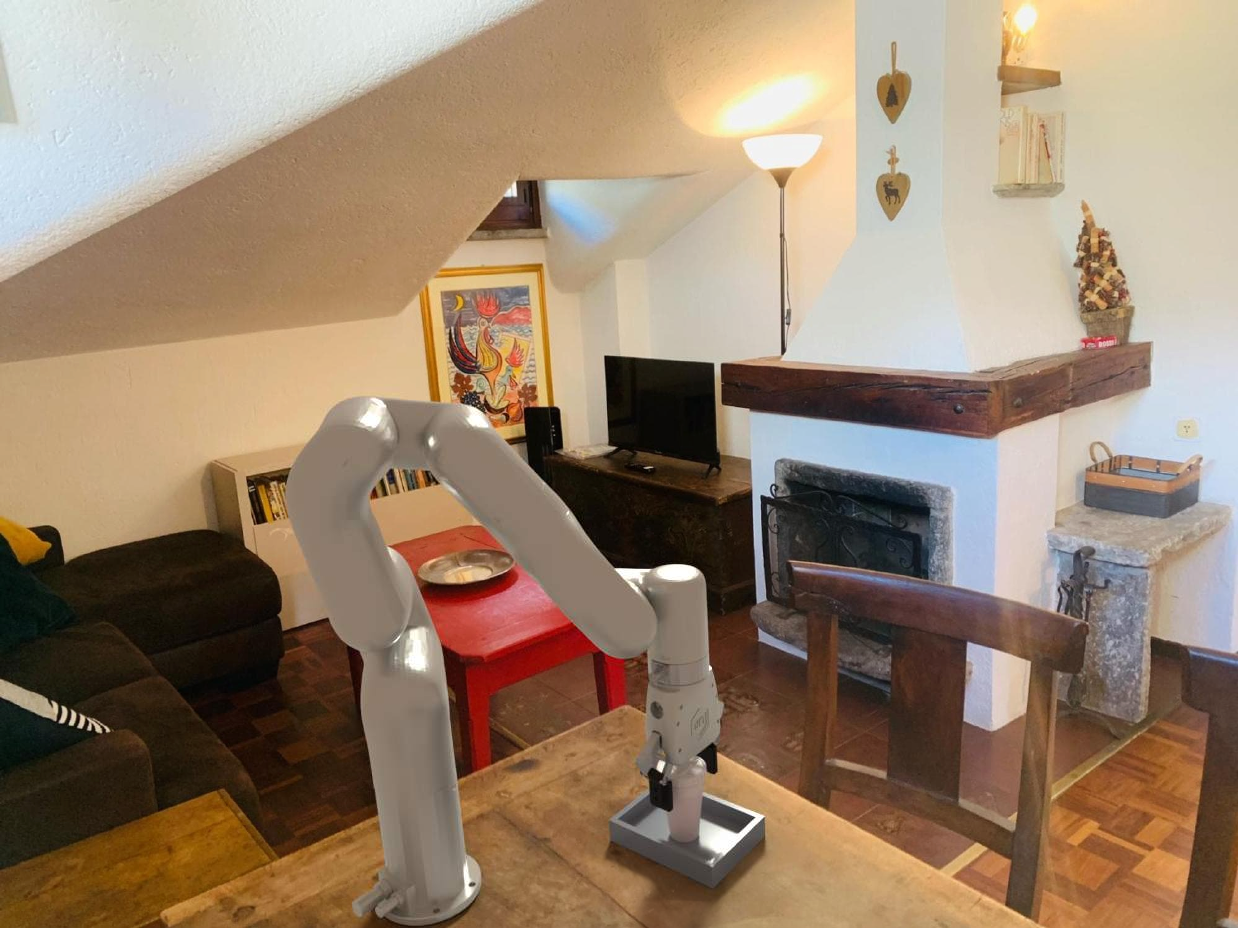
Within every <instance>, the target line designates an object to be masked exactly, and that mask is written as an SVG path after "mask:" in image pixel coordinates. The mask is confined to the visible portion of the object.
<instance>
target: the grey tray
mask: <svg viewBox="0 0 1238 928" xmlns="http://www.w3.org/2000/svg"><path fill="white" fill-rule="evenodd" d="M765 818H766V816H765V815H763V814H761V813H759V812H758V813H757V812H755V811H753V810H750V809H747V808H746V807H743V806H740V805H738V804H735V803H733V802H730V801H729V800H725V799H723V798H720V797H718V796H715V795H713V794H710V793H707V792H705V791H703V795H702V806H701V817H700V828H699V836H698V837H697V838H696V839H695V840H693V841H690V842H679V841H676V840H674V839H673V838H672V837H671V835H670V830H669V824H668V819H667V814H666V811H665V810H663V809H660V808H658V807H656V806H653V805H652V804H651V803H650V792H649V788H648V789H647V790H645V791H643V793H641V794H640V795H639V796H637V797H636V798H635V799H633V800H632V801H631V802H630V803H628V804H627V805H626V806H624V808H622V809H621V810H620V811H618V812H617V813H615V814H614V815H613V816H611V818H609V819H608V826H609V829H608V830H609V840H610V841H611V842H612V843H615V844H617V845H619V846H621V847H623V848H626V849H628V850H630V851H632V852H634V853H637V854H639V855H640V856H642V857H645V858H647V859H649V860H651V861H653V862H654V863H655V862H656V864H659V865H662V866H663V867H666V868H668V869H670V870H672V871H674V872H676V873H678V874H681V875H683V876H685V877H686V878H689V879H691V880H694V881H695V882H698V883H699V884H702V885H704V886H706V887H707V888H710V889H712V890H713V889H715V887H717V886H718V884H720V883H721V882H722V881H723V879H725V878H726V876H728V875H729V874H730V873H731V872H732V871H733V870H734V869H735V868H736V867H737V865H739V864H740V862H741V861H743V860H744V859H745V858H746V856H748V855H749V854H750V852H752V851H753V850H754V848H755V847H756V846H758V845H759V843H761V842H762V840H764V839H765V838H766V819H765Z"/></svg>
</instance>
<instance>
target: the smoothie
mask: <svg viewBox="0 0 1238 928" xmlns="http://www.w3.org/2000/svg"><path fill="white" fill-rule="evenodd" d="M664 765H665V762H664V761H661V760H659V762H658V765H657V767H656V770H658V771H660V772H661V773H662V770H663V768H664ZM707 774H708V772H707V770H706V763H705V762H704V760H703V759H701V758H700V757H698V756H694V757H693V758H692V759H690V760H689V761H688V762H686V763H685V764H683V765H682V766H679V767H676V766H673V768H672V771H671V774H670V777H669V781H671V782H672V791H673V810H672V811H670V812H667V811H666V814H667V819H668V824H669V830H670V835H671V837H672V838H673V839H674V840H676V841H679V842H690V841H693V840H695V839H696V838H697V837H698V836H699V828H700V817H701V806H702V795H703V792H704V782H705V779H706V777H707Z"/></svg>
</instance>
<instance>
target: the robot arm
mask: <svg viewBox="0 0 1238 928" xmlns="http://www.w3.org/2000/svg"><path fill="white" fill-rule="evenodd" d="M391 469H392V470H393V469H394V470H407V471H408V470H410V471H429V472H430V473H431V475H432V476H433V477H434V478H435V480H436V481H437V482H438V483H439V484H440V485H441V486H442V487H443V488H444V489H445V490H446V492H447V493H449V494H450V495H451V497H452V498H453V499H455V500H456V502H458V503H459V504H460V505H461V506H462V507H463V508H464V509H465V510H466V511H467V513H469V514H470V515H471V516H472V517H473V518H474V520H476V521H477V522H478V523H479V524H480V525H481V526H482V527H483V528H484V529H485V530H486V531H487V532H488V533H489V534H490V535H491V536H492V537H493V538H494V540H496V541H497V542H498V543H499V545H501V546H502V547H503V549H505V551H507V553H508V554H509V555H510V557H512V558H513V560H514V561H515V562H516V564H518V566H519V567H520V568H521V569H522V570H523V571H524V572H525V573H526V574H527V575H528V576H529V577H530V579H531V580H533V582H534V583H536V584H537V585H538V586H539V588H540V589H541V590H542V591H543V592H544V594H546V596H548V597H549V599H550V600H551V601H552V602H553V603H554V604H555V606H556V607H558V609H559V610H560V611H561V612H562V613H563V614H564V615H565V616H566V618H568V619H569V620H570V621H571V622H572V623H573V625H574V626H576V627H577V629H578V630H579V631H581V632H582V633H583V634H584V635H585V636H586V637H587V639H588V640H590V642H592V644H594V645H595V647H597V648H598V649H599V650H600V651H602V652H603V653H604V654H606V655H608V656H610V657H613V658H616V659H622V660H623V659H632V658H635V657H636V658H637V657H638V656H640V655H642V654H643V653H645V652H646V651H647V669H648V680H649V682H648V685H647V693H646V703H645V706H646V707H645V708H646V709H645V739H646V741H645V744H644V745H643V747H642V749H641V750H640V752H639V753H638V755H637V756H636V758H635V764H636V766H637V768H638V770H639V773H640V775H641V776H643V777H645V779H646V780H648V786H649V787H648V789H649V792H650V803H651V804H652V805H653V806H656V807H658V808H660V809H663V810H665V811H667V812H670V811H672V810H673V791H672V782H671V781H669V777H670V774H671V771H672V768H673V766H676V767H679V766H682V765H683V764H685V763H686V762H688V761H689V760H690V759H692V758H693V757H694V756H698V757H700V758H701V759H703V760H704V762H705V763H706V770H707V774H710V775H716V774H717V773H718V772H719V771H718V769H719V768H718V747H717V745H718V744H719V742H720V736H719V735H720V734H721V726H722V725H723V724H722V723H723V721H722V719H721V718H723V717H722V716H723V713H724V712H723V711H724V707H725V703H724V702H723V701H720V700H719V696H718V690H717V683H716V680H715V675H714V672H713V669H712V666H711V665H710V651H709V649H710V648H709V647H710V646H709V629H708V628H709V627H708V625H709V624H708V606H707V605H708V601H707V599H708V598H707V583H706V578H705V576H704V573H703V572H702V571H701V570H700V569H698V568H697V567H695V566H692V565H687V564H682V563H681V564H679V563H678V564H676V563H673V564H665V565H660V566H657V567H655V568H621V567H619V568H617V567H616V568H615V567H614V566H613V565H612V564H611V563H610V562H609V561H608V559H607V558H606V557H605V556H604V555H603V554H602V553H601V551H600V550H599V549H598V548H597V546H596V545H595V544H594V543H593V541H592V540H591V539H590V537H589V536H588V534H586V532H585V530H584V529H583V527H582V525H581V524H580V523H579V521H578V520H577V518H576V516H575V514H574V513H573V512H572V510H571V509H570V508H569V507H568V505H566V503H565V502H564V501H563V500H562V499H561V497H560V496H559V495H558V494H557V493H556V492H555V491H554V490H553V489H552V488H551V487H550V486H549V485H548V484H547V483H546V482H545V481H544V480H543V479H542V478H541V477H540V476H539V474H538V473H536V472H535V470H534V469H533V468H532V467H531V466H530V465H529V464H528V463H527V462H526V461H525V460H524V459H523V458H522V457H521V455H520V454H518V452H517V451H515V449H514V448H513V447H512V446H511V445H510V444H509V443H508V442H507V440H505V438H504V437H503V436H502V435H501V434H500V433H499V432H498V431H497V430H496V429H495V427H494V426H493V423H492V422H491V420H490V419H489V417H488V416H487V414H485V413H484V412H483V411H481V410H480V409H478V408H476V407H474V406H471V405H469V404H464V403H455V402H441V401H430V400H429V401H428V400H427V401H426V400H415V399H414V400H413V399H407V398H406V399H404V398H403V399H402V398H394V397H393V398H392V397H382V396H371V395H370V396H367V395H365V396H364V395H363V396H361V395H360V396H353V397H348V398H346V399H344V400H342V401H339V402H338V403H336V404H334V405H333V406H332V408H331V409H330V410H329V411H328V412H327V413H326V415H325V417H324V418H323V420H322V422H321V424H320V426H319V427H318V430H317V431H316V432H315V433H314V435H313V436H312V437H311V438H310V439H309V440H308V442H307V443H306V444H305V446H303V448H302V449H301V451H300V452H299V453H298V455H297V457H296V458H295V460H294V462H293V464H292V465H291V467H290V470H289V474H288V476H287V480H286V484H285V485H286V486H285V493H284V494H285V495H284V497H285V505H286V506H285V507H286V511H287V517H288V520H289V523H290V525H291V528H292V531H293V533H294V536H295V539H296V540H297V543H298V545H299V549H300V550H301V552H302V554H303V557H304V560H305V563H306V565H307V568H308V571H309V573H310V576H311V578H312V580H313V582H314V585H315V587H316V589H317V590H316V591H317V592H318V595H319V597H320V599H321V602H322V603H323V606H324V609H325V613H326V615H327V617H328V619H329V622H330V624H331V627H332V628H333V630H334V632H335V634H336V635H337V636H338V637H339V639H340V641H342V642H343V643H345V644H346V645H347V646H349V647H351V648H353V649H355V650H357V651H359V654H360V656H361V659H362V660H363V669H362V676H361V685H360V686H361V687H360V711H361V712H360V713H361V721H362V725H363V731H364V736H365V741H366V744H367V750H368V756H369V762H370V769H371V774H372V775H371V776H372V781H373V782H372V783H373V789H374V793H375V800H376V808H377V813H378V814H377V815H378V823H379V828H380V836H381V837H380V838H381V842H382V850H383V858H384V864H385V866H384V867H382V868H381V869H379V870H378V871H377V874H378V881H377V882H375V884H374V885H373V889H371V890H370V891H369V892H367V893H364V894H362V895H361V896H360V897H358V898H357V899H355V900H353V901H352V903H351V907H352V910H353V913H354V914H355V915H356V917H358V918H361V917H363V916H365V915H367V914H368V913H369V912H370V911H372V910H373V909H374V911H375V914H376V916H377V917H378V918H380V919H382V918H384V917H385V918H386V919H388V920H390V921H391V922H394V923H396V924H399V925H405V926H415V927H418V926H420V927H421V926H427V925H433V924H437V923H440V922H443V921H445V920H446V921H447V920H449V919H451V918H452V917H455V916H456V915H457V914H459V913H461V912H462V911H463V910H465V909H466V908H467V907H469V906H470V904H471V903H473V901H475V899H476V897H477V896H478V894H479V893H480V890H481V887H482V881H483V880H482V879H483V878H482V870H481V868H480V865H479V864H478V863H477V861H476V860H475V859H474V858H473V857H472V856H470V855H469V854H467V853H466V845H465V844H466V843H465V835H464V827H463V819H462V818H463V817H462V810H461V801H460V794H459V791H460V790H459V784H458V776H457V768H456V760H455V752H454V742H453V735H452V727H451V715H450V701H449V692H448V683H447V676H446V675H447V674H446V667H445V660H444V654H443V653H444V652H443V648H442V644H441V641H440V638H439V636H438V633H437V631H436V627H435V625H434V622H433V620H432V617H431V615H430V612H429V610H428V608H427V605H426V602H425V600H424V598H423V595H422V594H421V591H420V588H419V586H418V583H417V580H416V578H415V576H414V574H413V571H412V569H411V567H410V565H409V563H408V562H407V561H406V559H405V558H404V557H403V555H401V554H400V553H399V552H398V551H397V550H396V549H393V548H392V547H390V546H388V545H387V544H386V542H385V540H384V536H383V534H382V530H381V528H380V525H379V523H378V520H377V519H376V516H375V514H374V512H373V511H372V507H371V503H370V501H371V494H372V491H373V490H374V489H375V487H376V486H377V485H378V483H379V482H380V481H381V480H382V479H383V478H384V477H385V476H386V475H387V474H388V472H389V471H390V470H391ZM661 753H663V754H661ZM660 760H661V761H664V762H665V765H664V768H663V770H662V773H661V772H660V771H658V770H657V765H658V762H659V761H660Z"/></svg>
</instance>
